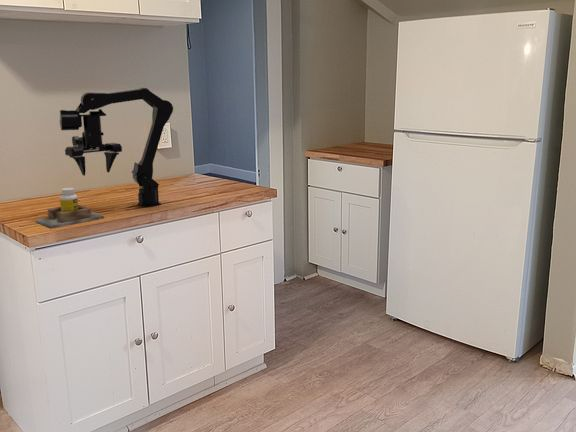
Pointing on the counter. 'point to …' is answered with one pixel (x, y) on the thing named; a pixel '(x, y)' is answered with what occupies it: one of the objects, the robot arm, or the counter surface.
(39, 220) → the pocket
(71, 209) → the supplement bottle
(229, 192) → the counter surface
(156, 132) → the robot arm
